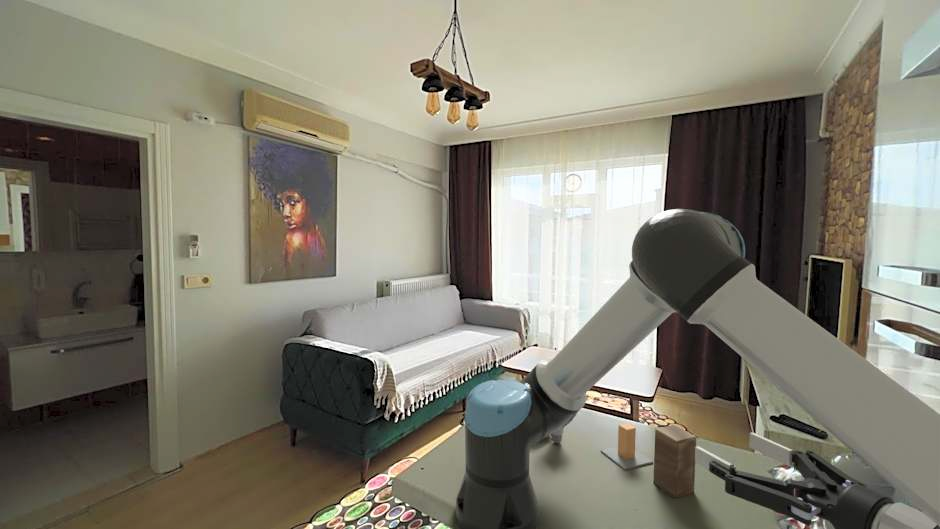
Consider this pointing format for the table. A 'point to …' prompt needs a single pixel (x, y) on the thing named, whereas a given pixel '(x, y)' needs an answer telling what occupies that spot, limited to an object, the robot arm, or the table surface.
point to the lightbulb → (557, 435)
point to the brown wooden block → (674, 460)
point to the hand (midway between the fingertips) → (724, 446)
